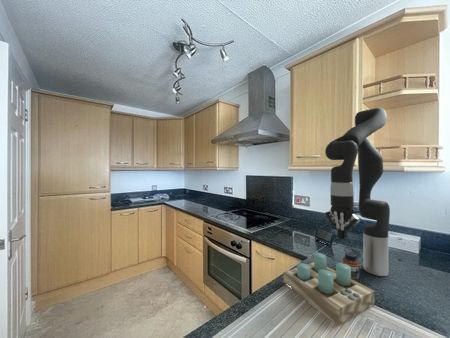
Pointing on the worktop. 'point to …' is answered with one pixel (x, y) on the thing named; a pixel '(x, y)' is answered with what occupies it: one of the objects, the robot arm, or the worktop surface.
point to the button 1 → (303, 272)
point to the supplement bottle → (352, 265)
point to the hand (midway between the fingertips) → (342, 238)
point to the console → (331, 295)
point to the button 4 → (343, 274)
